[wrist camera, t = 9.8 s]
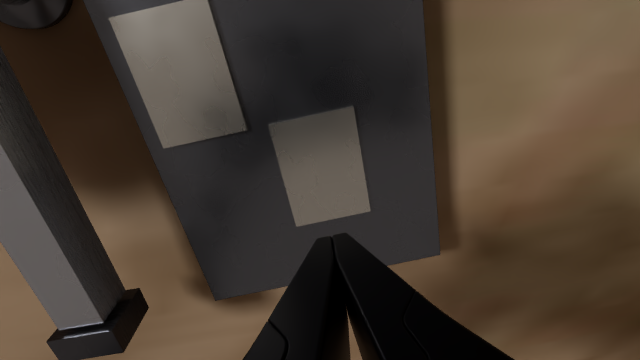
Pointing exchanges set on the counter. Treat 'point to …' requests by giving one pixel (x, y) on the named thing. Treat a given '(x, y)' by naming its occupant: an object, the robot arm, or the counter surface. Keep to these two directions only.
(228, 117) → the chassis
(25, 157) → the cable arm
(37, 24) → the pivot base
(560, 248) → the counter surface
